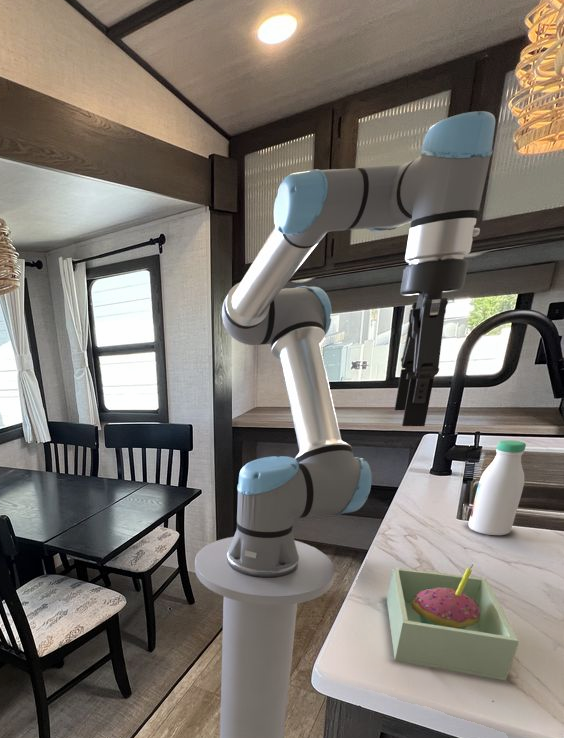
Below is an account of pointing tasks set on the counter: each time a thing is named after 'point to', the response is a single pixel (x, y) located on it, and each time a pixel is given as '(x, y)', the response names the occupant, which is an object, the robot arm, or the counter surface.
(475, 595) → the tub
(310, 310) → the robot arm
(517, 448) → the milk bottle
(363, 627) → the counter surface
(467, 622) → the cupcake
